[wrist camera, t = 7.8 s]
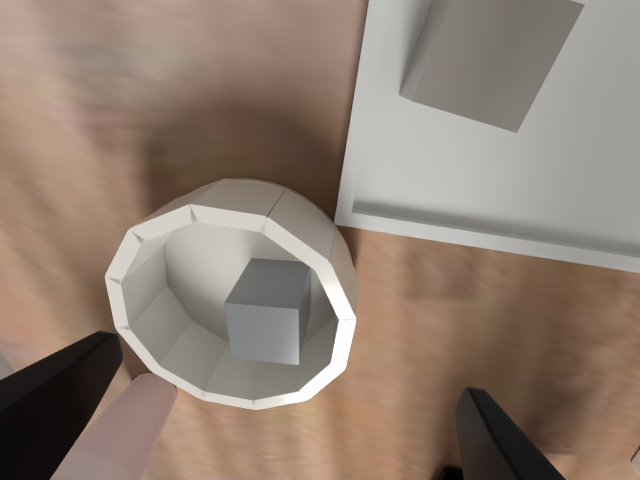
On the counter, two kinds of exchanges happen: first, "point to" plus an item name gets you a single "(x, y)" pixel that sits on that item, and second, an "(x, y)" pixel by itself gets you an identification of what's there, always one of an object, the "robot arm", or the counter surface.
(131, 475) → the smoothie
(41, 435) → the robot arm
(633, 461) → the milk
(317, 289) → the bowl
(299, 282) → the grey block
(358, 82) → the tray
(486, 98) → the grey block
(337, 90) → the counter surface
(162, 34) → the counter surface
